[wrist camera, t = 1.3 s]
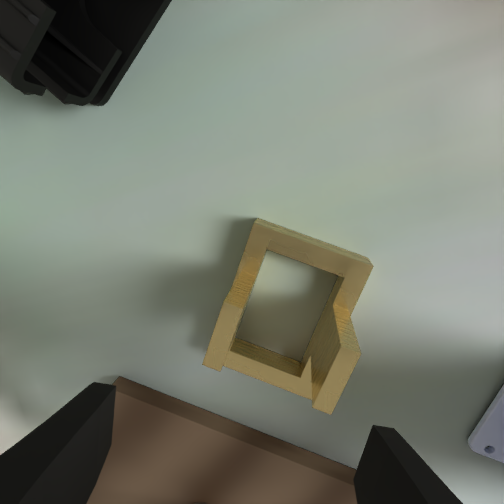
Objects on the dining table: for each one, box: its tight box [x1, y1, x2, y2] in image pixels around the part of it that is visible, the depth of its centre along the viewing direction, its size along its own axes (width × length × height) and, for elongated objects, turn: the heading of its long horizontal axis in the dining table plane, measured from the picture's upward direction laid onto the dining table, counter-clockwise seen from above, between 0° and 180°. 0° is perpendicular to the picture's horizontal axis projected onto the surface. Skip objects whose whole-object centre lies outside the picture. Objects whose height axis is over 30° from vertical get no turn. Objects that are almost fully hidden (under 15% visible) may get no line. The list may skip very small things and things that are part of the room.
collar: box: [202, 218, 373, 415], centre depth 16 cm, size 6×8×6 cm
